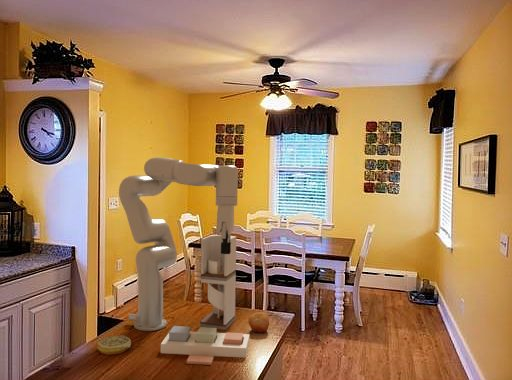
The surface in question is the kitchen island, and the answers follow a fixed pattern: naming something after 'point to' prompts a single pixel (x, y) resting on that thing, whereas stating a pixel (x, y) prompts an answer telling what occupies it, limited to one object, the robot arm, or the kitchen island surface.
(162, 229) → the robot arm
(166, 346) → the keypad board
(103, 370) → the kitchen island surface
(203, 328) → the key sage
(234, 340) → the key terracotta
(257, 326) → the fruit
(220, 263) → the tiered shelf stand
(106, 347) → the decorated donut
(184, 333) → the key slate blue
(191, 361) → the tile
